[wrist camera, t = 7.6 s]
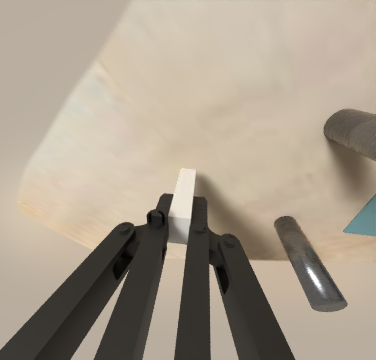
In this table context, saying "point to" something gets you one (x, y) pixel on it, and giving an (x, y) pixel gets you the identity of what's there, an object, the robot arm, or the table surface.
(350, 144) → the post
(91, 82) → the table surface
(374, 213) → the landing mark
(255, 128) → the table surface
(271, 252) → the table surface
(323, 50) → the table surface
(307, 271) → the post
